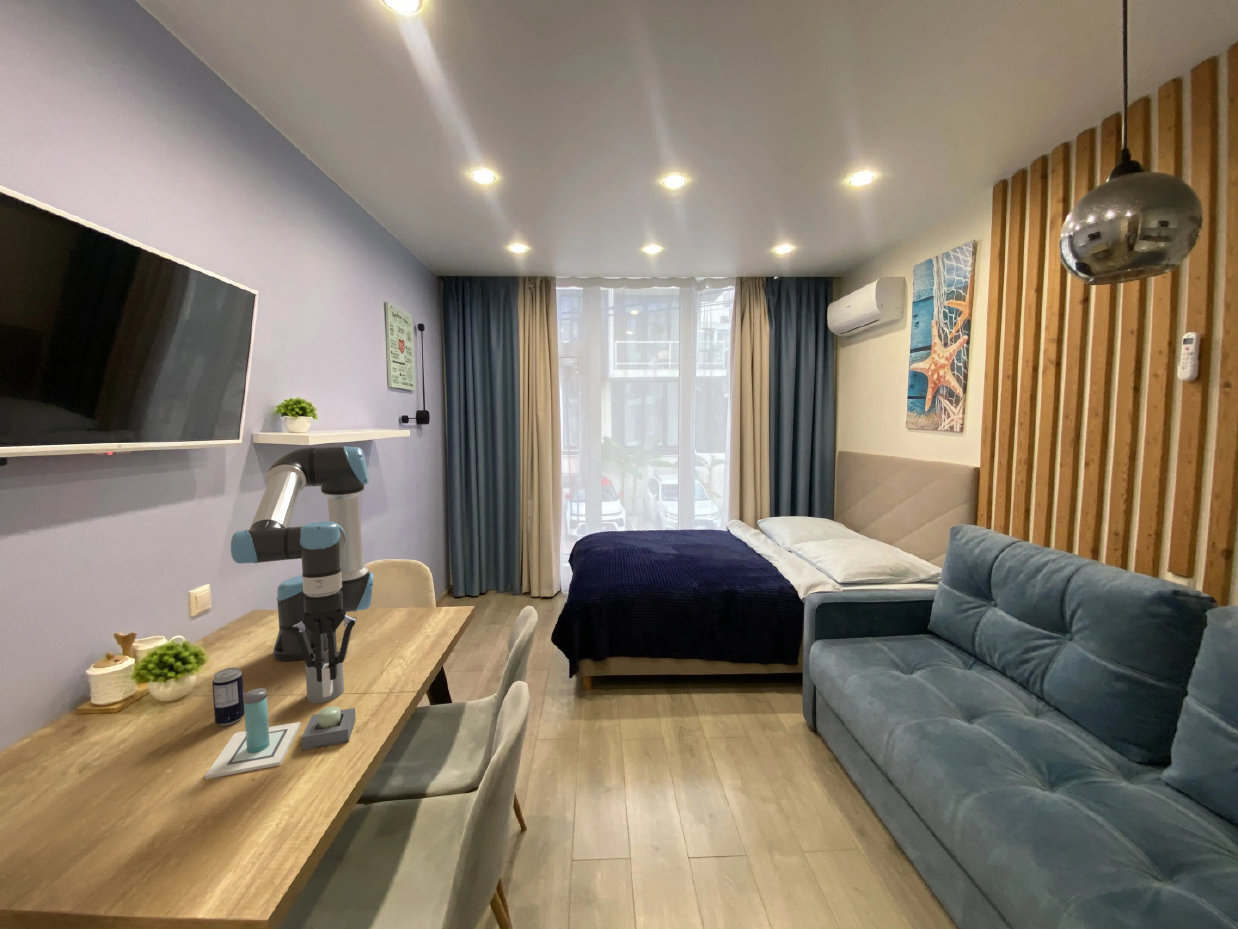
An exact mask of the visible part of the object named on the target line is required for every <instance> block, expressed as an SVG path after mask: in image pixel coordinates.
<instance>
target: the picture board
mask: <svg viewBox="0 0 1238 929" xmlns="http://www.w3.org/2000/svg"><path fill="white" fill-rule="evenodd" d="M301 724H302V723H301V721H298V722H290V723H284V724H279V725H272V726H269V742H270V744H269V746H268V747H267V748H266V749H264V750H262V751H260V752H256V753H248V752H247V743H246V730H245V731H238V732H234V733H233V735H232V736H231V738H230V739H229V740H228V742H227V743H226V745H225V747H224V748H223V749H222V751H221V752H220V753H219V755H218V756H217V758H216V759H215V761H214V762H213V763H212V765H211V766H210V767H209V769H208V770H207V772H206V773H205V775H204V779H205V780H210V779H215V778H218V777H224V776H229V775H235V774H241V773H245V772H247V773H248V772H251V771H257V770H262V769H267V768H273V767H277V766H281V765H282V762H283V761H284V759H285V758H286V755H287V753H288V751H289V749H290V747H291V744H292V743H293V741H294V739H295V737H296V735H297V733H298V731H299V729H300V727H301Z"/></svg>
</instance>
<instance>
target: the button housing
mask: <svg viewBox="0 0 1238 929" xmlns="http://www.w3.org/2000/svg"><path fill="white" fill-rule="evenodd" d="M340 716H341V724H340V725H339V726H336V727H330V728H324V729H319V725H318V713H316V714H311V716H310V719H309V721H308V723H307V724H306V727H305V729H304V732H303V733H302V736H301V750H302V751H306V750H307V751H308V750H312V749H318V748H322V747H328V746H334V745H340V744H344V743H345V744H346V743H349V742H350V738H351V735H352V732H353V729H354V727H355V722H356V707H352V708H345V709H340Z"/></svg>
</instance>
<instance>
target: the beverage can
mask: <svg viewBox="0 0 1238 929" xmlns="http://www.w3.org/2000/svg"><path fill="white" fill-rule="evenodd" d="M244 691H245V690H244V679H243V673H242V671H241V669H240V668H239V667H228V668H224V669H221V670H219V671H217V672H215V673H214V675H213V679H212V695H213V698H212V699H213V711H214V721H215V722H214V723H216V724H218V725H219V726H221V727H223V726H230V725H233V724H236V723H238V722H239V721H240V720H242V717H243V716H245V712H244V701H243V695H244V694H245V693H244Z"/></svg>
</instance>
